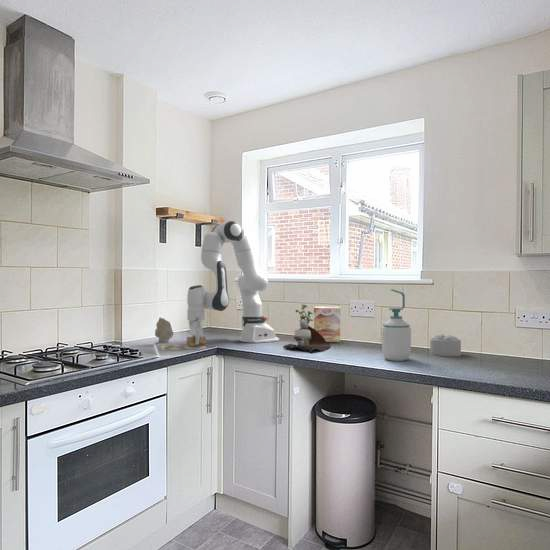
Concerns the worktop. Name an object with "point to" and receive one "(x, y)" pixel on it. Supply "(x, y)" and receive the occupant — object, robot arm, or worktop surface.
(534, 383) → the worktop surface
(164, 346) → the board
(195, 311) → the robot arm
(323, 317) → the coffeecake box
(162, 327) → the stone tool
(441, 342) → the lumpy-topped squat cylinder
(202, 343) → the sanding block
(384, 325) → the soap bottle
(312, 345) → the potted plant
